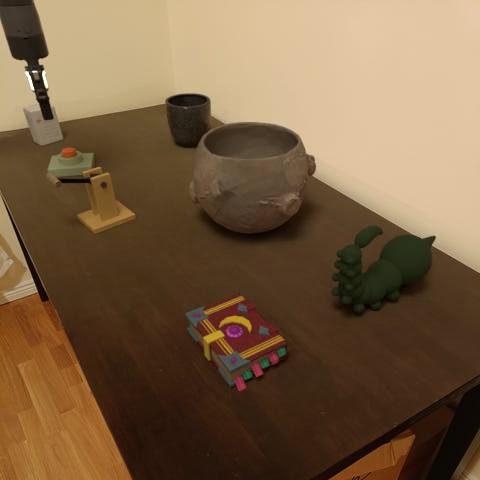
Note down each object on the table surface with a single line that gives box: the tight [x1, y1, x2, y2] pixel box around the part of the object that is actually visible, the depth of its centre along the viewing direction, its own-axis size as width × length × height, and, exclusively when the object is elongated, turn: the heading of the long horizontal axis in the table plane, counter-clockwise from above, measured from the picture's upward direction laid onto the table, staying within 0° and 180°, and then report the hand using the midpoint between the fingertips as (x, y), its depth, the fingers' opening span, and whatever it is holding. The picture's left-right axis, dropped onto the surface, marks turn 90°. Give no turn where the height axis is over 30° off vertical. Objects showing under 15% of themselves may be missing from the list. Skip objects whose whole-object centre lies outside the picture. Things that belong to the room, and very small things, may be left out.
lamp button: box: [61, 147, 76, 158], centre depth 123 cm, size 4×4×2 cm
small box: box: [22, 103, 64, 147], centre depth 137 cm, size 8×6×10 cm
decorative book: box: [184, 293, 288, 392], centre depth 72 cm, size 11×16×5 cm
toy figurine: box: [330, 224, 437, 314], centre depth 78 cm, size 9×19×25 cm
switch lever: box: [45, 172, 101, 188], centre depth 95 cm, size 12×5×2 cm, turn 130°
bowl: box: [188, 121, 317, 235], centre depth 97 cm, size 27×29×20 cm
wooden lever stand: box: [76, 166, 137, 235], centre depth 101 cm, size 11×9×12 cm
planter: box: [164, 92, 212, 148], centre depth 135 cm, size 14×14×13 cm
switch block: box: [46, 150, 96, 177], centre depth 124 cm, size 12×10×4 cm
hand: (47, 113), depth 100 cm, fingers open, 8 cm apart
